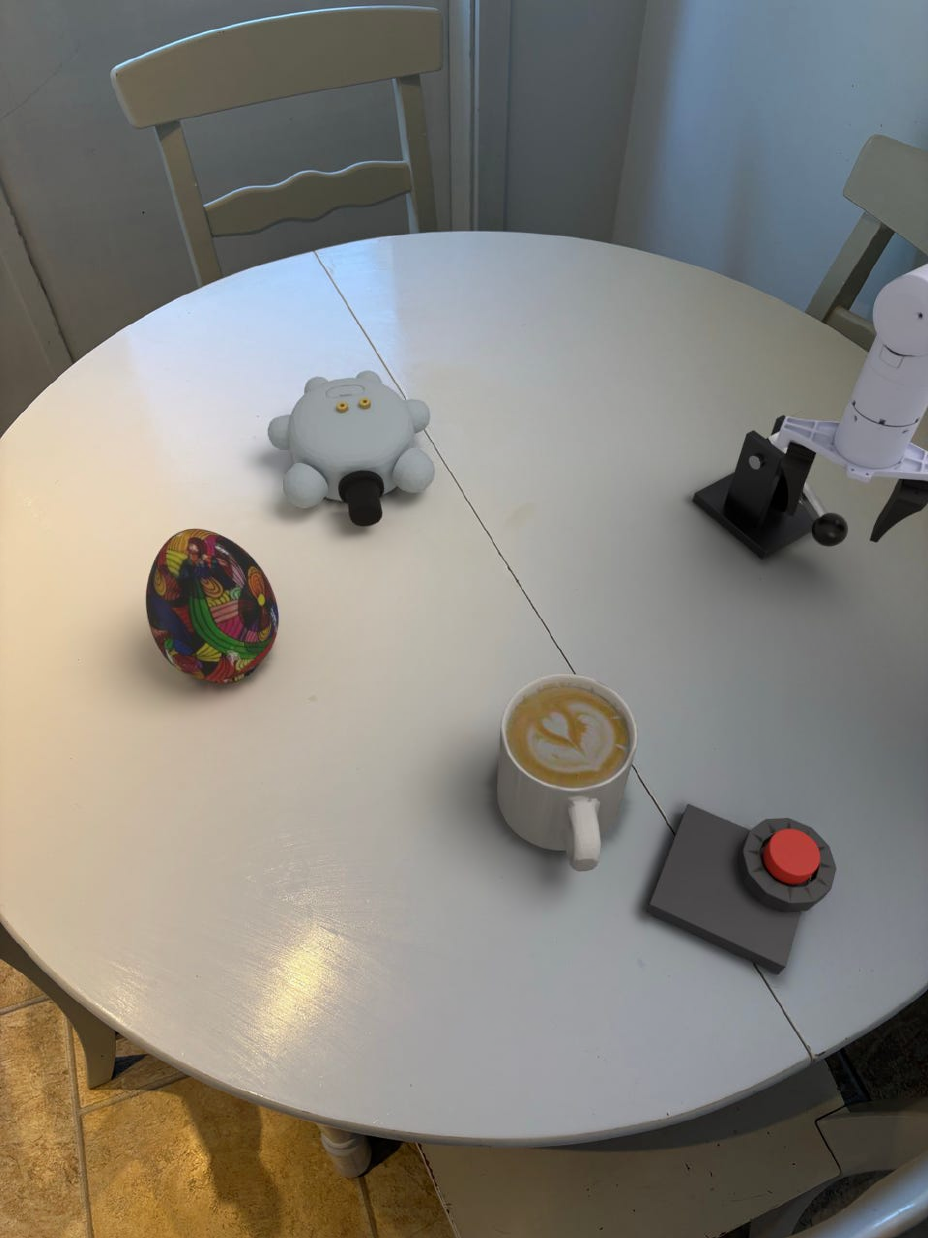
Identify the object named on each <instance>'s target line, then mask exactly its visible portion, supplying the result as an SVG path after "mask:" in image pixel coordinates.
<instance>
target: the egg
mask: <svg viewBox="0 0 928 1238" xmlns="http://www.w3.org/2000/svg"><path fill="white" fill-rule="evenodd" d="M145 610H146V617H147V622H148V626H149V629H150V632H151V636H152V638H153V640H154V642H155V644H156V646H157V648H158V650H159V651H160V653H161V654H162V656H163V658H165V659H166V660H167V661H168V662H169V664H170V665H172V666H173V667H174V668H175V669H177V670H179V671H180V672H182V673H184V674H185V675H188V676H189V677H192V678H196V679H199V680H204V681H210V682H214V683H219V684H227V683H232V682H233V683H234V682H236V681H237V682H238V681H240V680H241V679H243V678H245V677H248V676H250V674H251V673H254V671H255V670H256V668H257V667H259V665H260V664H261V663H262V661H263V660H264V659H265V658H266V657H267V655H268V654H269V653H270V651H271V650H272V648H273V646H274V643H275V642H276V639H277V635H278V631H279V624H280V616H279V615H280V614H279V607H278V602H277V599H276V595H275V593H274V589H273V587H272V585H271V583H270V580H269V579H268V577H267V575H266V573H265V572H264V570H263V569H262V567H261V566H260V565H259V564H258V562H257V561H256V560H255V559H254V557H252V556H251V555H250V554H249V552H248V551H246V549H244V548H243V547H242V546H241V545H239V544H237V543H236V542H235V541H233V540H232V539H229V538H228V537H227V536H224V535H223V534H220V533H217V532H215V531H211V530H208V529H204V528H187V529H183V530H181V531H178V532H176V533H175V534H174V535H172V536H171V537H169V539H168V540H166V541H165V543H164V544H163V545H162V547H160V550H159V551H158V553H157V554H156V556H155V558H154V560H153V562H152V565H151V567H150V570H149V573H148V578H147V582H146V590H145Z"/></svg>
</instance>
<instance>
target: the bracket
mask: <svg viewBox="0 0 928 1238" xmlns="http://www.w3.org/2000/svg"><path fill="white" fill-rule="evenodd" d="M786 416H787V415H785V414H783V415H780V416H778V417H777V418H776V419H775V421H774V424H773V428H772V430H771V433H770V436H771V435H773V434H775V433H777V432H779V431H780V429H781V427H782V424H783V422H784V419H785V417H786ZM784 456H785V453H784V452H782V451H781V450H780V449H778V448H777V447H776V446H774V445H773V444H772V443H770V442H769V441H768V440H766V438H765V437H764V436H762V434H760V433H758V432H757V430H754V429H753V430H751V431H748V432H747V433H746V434H745V437H744V441H743V443H742V446H741V450H740V452H739V456H738V459H737V461H736V462H737V463H736V466H735V469H734V471H733V472H731V473H730V474H728V475H726V476H724V477H722V478H720V479H718V480H717V481H714V482H713V483H710V484H709V485H707V486H705V487H703V488H701V489H699V490H697V491H696V492H694V494H693V498H692V502H693V503H694V504H695V505H697V506H698V507H699V508H700V509H701V510H703V511H704V512H705V514H707V515H709V516H710V517H711V518H712V519H714V521H716V522H717V523H718V524H719V525H721V526H722V527H723V528H724V529H725V530H726V531H728V532H729V534H731V535H732V536H733V537H734V538H736V539H737V540H738V541H739V542H740V543H742V545H744V546H745V547H746V548H747V549H749V550H750V551H751V552H752V553H753V554H754V555H755V556H757V557H758V558H760V560H764V559H766V558H767V557H769V556H771V555H773V554H774V553H776V552H778V551H780V550H781V549H783V548H785V547H787V546H788V545H790V544H791V543H794V542H795V541H797V540H798V539H800V538H803V536H805V535H807V534H809V533H810V532H812V531H811V530H812V525H813V523H814V520H813V519H812V517H811V516H810V514H809V513H808V511H807V510H806V508H805V507H804V505H803V504H802V502H801V501H799V503H798V506H797V509H796V512H795V514H794V516H793V517H792V516H789V515H787V514H786V513H787V509H788V486H787V481H786V478H785V477H784V475H783V474H782V470H783V458H784Z"/></svg>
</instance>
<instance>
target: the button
mask: <svg viewBox="0 0 928 1238" xmlns="http://www.w3.org/2000/svg"><path fill="white" fill-rule="evenodd" d="M763 859H764V863H765V866H766V868H767V870H768V871H769V872H770V874H771V875H772V876H773V877H775V878H776V879H777V880H779V881H781V882H783V883H786V884H792V885H796V884H801V883H803V882H805V881H807V880H808V879H809V878H810V879H811V876H812V874H813V873H814V871H815V870H816V869H817V867H818V866H819V863H820V852H819V849H818V847H817V845H816V843H815V842H814V841H813V840H812V838H810V837H809V836H808V835H807V834H805V833H803V832H801V831H799V830H795V829H783V830H780V831H778V832H776V833H775V834H774V835H773V836H772V838H771V839H770V841H769V842H768V844H767V846H766V847H765V850H764V853H763Z"/></svg>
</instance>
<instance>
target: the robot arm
mask: <svg viewBox="0 0 928 1238" xmlns="http://www.w3.org/2000/svg"><path fill="white" fill-rule="evenodd" d="M872 322H873V327H874V330H875V333H876V335H875V338H874V340H873V342H872V345H871V347H870V349H869V352H868V354H867V356H866V359H865V361H864V363H863V366H862V368H861V371H860V373H859V376H858V378H857V380H856V383H855V385H854V388H853V390H852V392H851V394H850V395H851V396H850V398H849V400H848V402H847V405H846V407H845V410H844V412H843V413H842V417H841V419H840V421H835V420H833V421H832V420H819V419H806V418H805V419H804V418H798V417H792V416H789V415H785V416H786V417H785V419H784V422H783V424H782V427H781V429H780V432H779V435H778V438H777V440H776V443H775V445H776V446H780V447H783V448H787V447H788V448H787V451H786V453H785V456H784V458H783V471H784V474H785V477H786V481H787V486H788V509H787V513H786V514H787V515H789V516H792V517H793V516H794V514H795V512H796V509H797V506H798V503H799V502H801V501H800V498H801V495H802V492H803V489H804V485H805V481H807V479H808V477H809V474H810V471H811V469H812V467H813V463H814V461H815V459H816V454H818V455H819V456H821V457H823V458H825V459H827V460H829V461H830V462H832V463H834V464H835V465H837V466H839V467H841V468H843V469H845V471H844V476H845V477H846V478H848V479H851V480H853V481H857V482H860V483H870V482H871V481H872V478H886V479H898V480H897V482H896V484H895V486H894V488H893V490H892V493H891V494H890V496H889V498H888V500H887V501H886V503H885V505H884V507H883V508H882V509H881V511H880V512H879V514H878V516H877V518H876V520H875V522H874V525H873V527H872V529H871V530H872V531H871V533H870V538H869V541H870V542H873V543H878V542H880V540H881V539H882V538H883V536H884V535H886V534H887V532H889V531H890V530H891V529H892V528H893V527H895V526H896V525H897V524H899V523H900V522H902V521H903V520H904V519H906V518H908V517H909V516H912V515H914V514H916V513H920V512H921V511H922V510H923V509H925V507H927V505H928V450H926V449H924V448H922V447H920V446H918V445H917V444H915V443H912V442H911V441H912V438H913V436H914V434H915V433H916V430H917V429H918V428H919V425H920V422H921V421H922V419H923V417H924V415H925V413H926V411H927V409H928V263H926V264H924V265H922V266H919V267H917V268H915V269H913V270H911V271H908V272H907V273H904V274H902V275H900V276H898V277H896V278H894V279H892V281H890V282H889V283H887V284H885V285H884V286H883V287H882V288H881V290H880V291H879V292H878V293H877V296H876V298H875V300H874V303H873V308H872Z"/></svg>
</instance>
